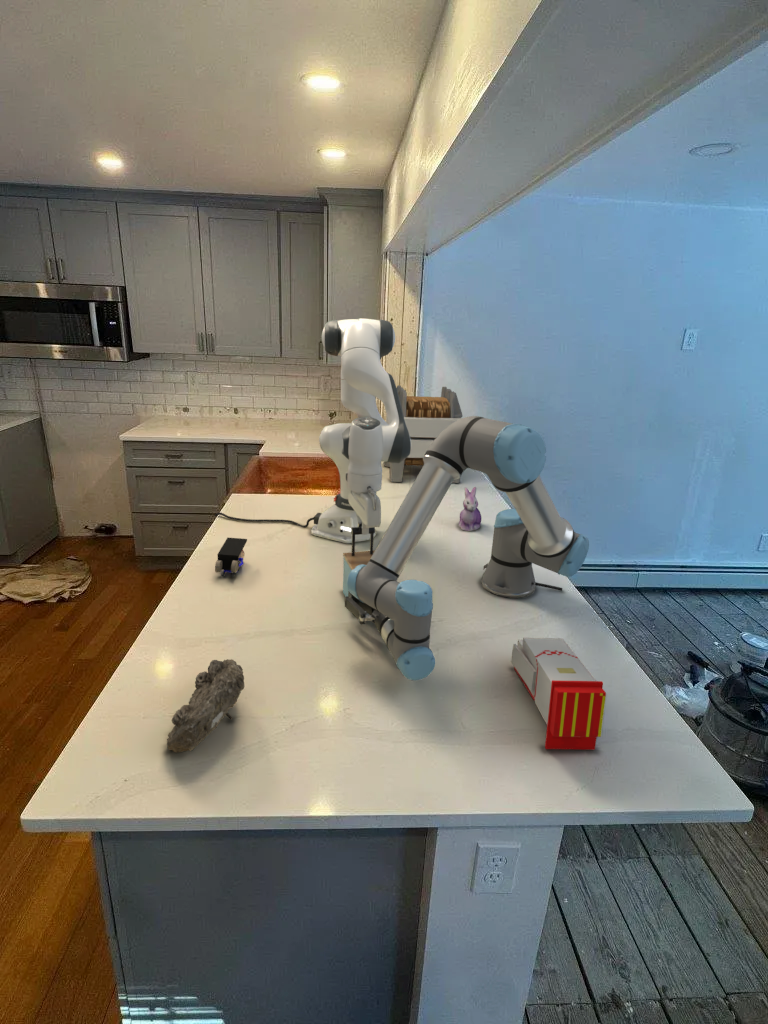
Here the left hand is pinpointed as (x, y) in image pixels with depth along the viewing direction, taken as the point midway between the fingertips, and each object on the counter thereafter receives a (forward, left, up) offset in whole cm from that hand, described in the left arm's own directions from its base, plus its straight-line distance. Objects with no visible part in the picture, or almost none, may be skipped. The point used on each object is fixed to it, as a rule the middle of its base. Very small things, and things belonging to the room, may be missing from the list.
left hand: (363, 531), depth 151 cm
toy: (+51, -31, -18) cm, 62 cm away
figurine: (+22, +63, -18) cm, 69 cm away
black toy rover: (-40, 0, -18) cm, 44 cm away
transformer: (-11, +126, -18) cm, 128 cm away
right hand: (+4, -7, -12) cm, 14 cm away
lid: (+3, -4, -8) cm, 9 cm away
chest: (+3, -4, -18) cm, 19 cm away
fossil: (-11, -57, -18) cm, 61 cm away
